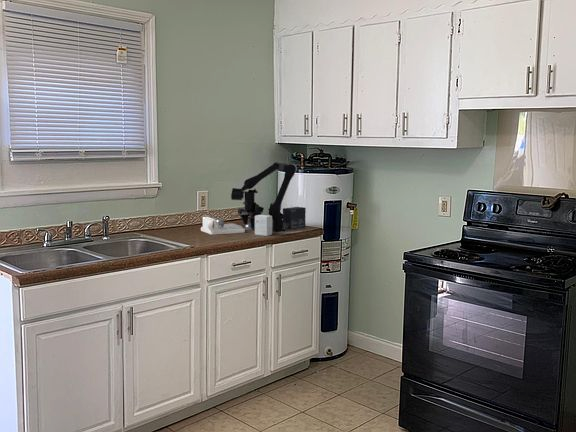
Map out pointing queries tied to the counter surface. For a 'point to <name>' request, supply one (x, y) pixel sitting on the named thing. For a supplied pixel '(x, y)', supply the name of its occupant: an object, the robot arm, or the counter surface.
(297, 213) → the small box
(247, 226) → the steel cup
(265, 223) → the small box
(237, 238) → the counter surface
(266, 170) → the robot arm
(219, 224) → the spacer on pan
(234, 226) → the pan
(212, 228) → the scale
